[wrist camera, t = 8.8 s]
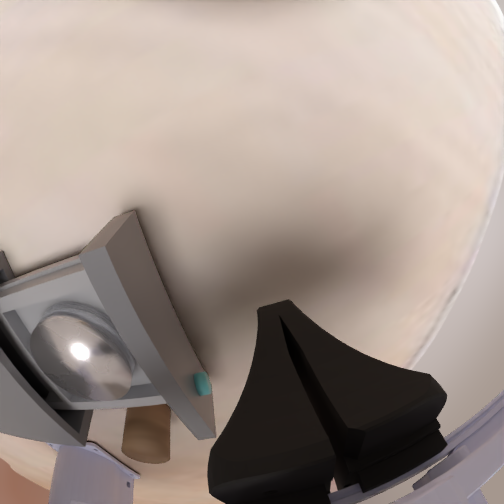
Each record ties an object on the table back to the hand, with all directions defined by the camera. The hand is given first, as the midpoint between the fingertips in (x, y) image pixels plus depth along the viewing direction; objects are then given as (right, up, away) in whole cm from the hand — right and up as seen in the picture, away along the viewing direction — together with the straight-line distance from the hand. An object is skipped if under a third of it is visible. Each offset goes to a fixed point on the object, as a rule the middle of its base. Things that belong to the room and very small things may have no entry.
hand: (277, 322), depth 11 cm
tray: (-10, -2, +1) cm, 10 cm away
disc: (-10, -2, +1) cm, 10 cm away
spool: (-8, -8, +6) cm, 13 cm away
